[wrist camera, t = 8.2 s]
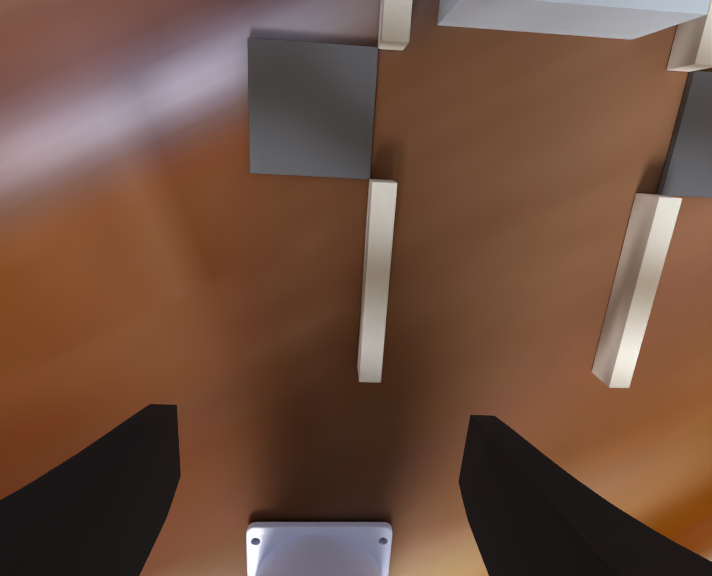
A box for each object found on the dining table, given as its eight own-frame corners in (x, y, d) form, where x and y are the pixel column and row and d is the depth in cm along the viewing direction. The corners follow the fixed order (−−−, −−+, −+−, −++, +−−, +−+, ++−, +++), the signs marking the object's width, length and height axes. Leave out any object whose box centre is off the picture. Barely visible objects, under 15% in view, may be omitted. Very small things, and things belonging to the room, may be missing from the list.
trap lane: (702, 374, 23) (754, 407, 20) (254, 363, 21) (242, 397, 19) (906, -231, 16) (1033, -314, 13) (243, -316, 14) (220, -433, 11)
